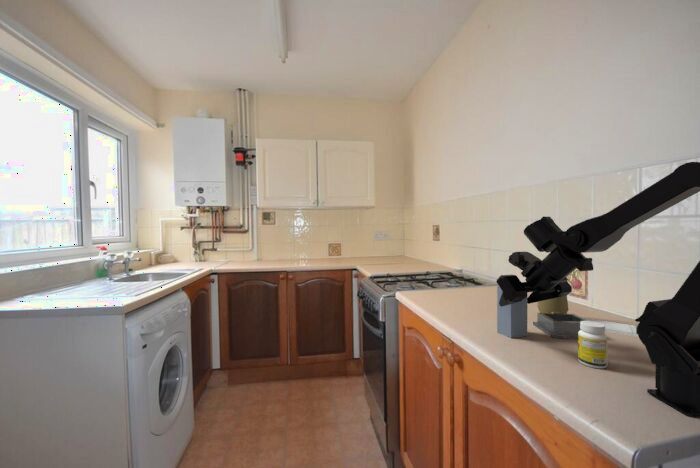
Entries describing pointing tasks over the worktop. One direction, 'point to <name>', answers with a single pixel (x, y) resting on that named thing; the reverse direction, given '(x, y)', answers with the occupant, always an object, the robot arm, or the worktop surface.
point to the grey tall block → (512, 318)
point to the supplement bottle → (592, 344)
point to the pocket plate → (559, 324)
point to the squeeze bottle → (554, 305)
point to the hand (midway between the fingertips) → (514, 303)
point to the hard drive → (617, 327)
